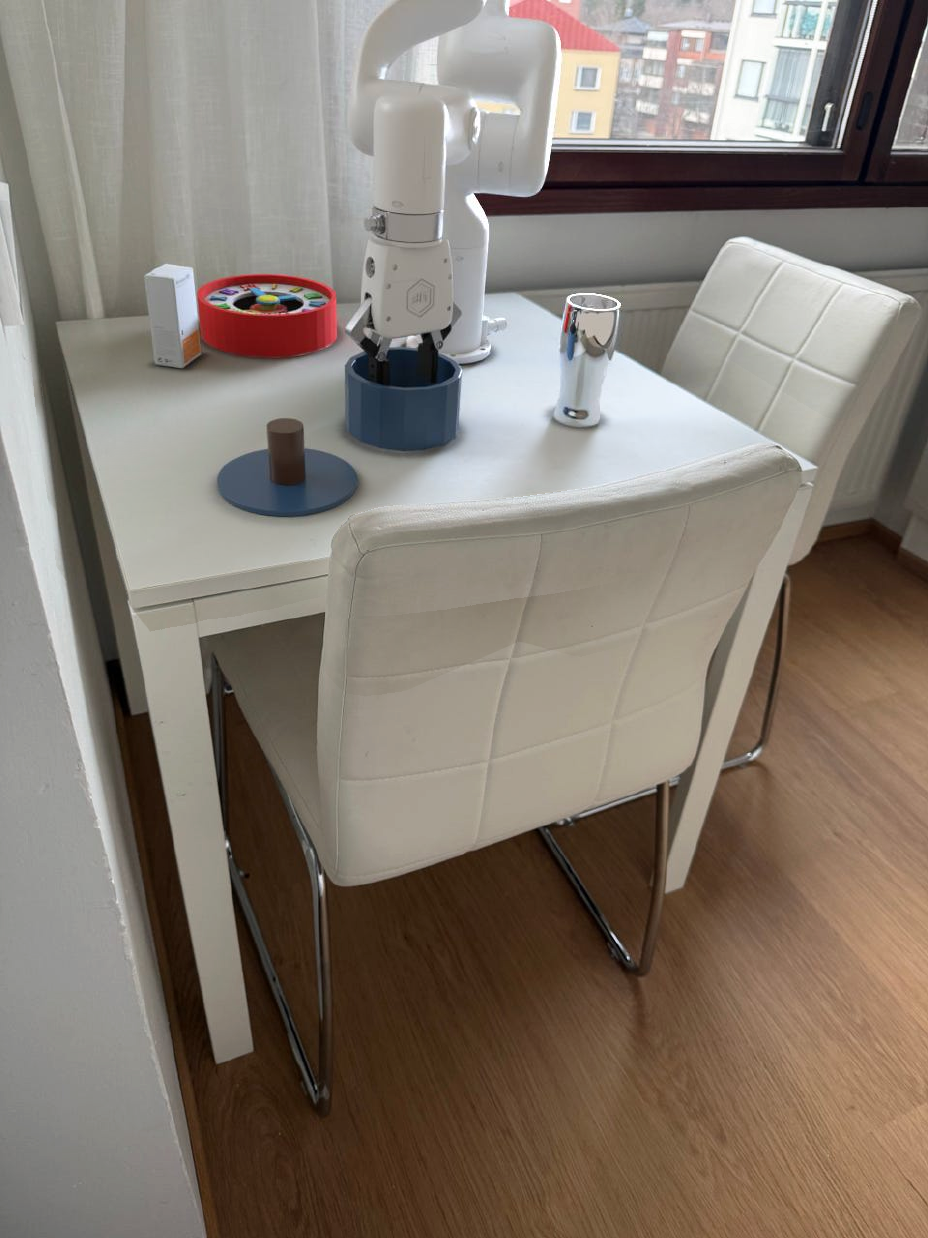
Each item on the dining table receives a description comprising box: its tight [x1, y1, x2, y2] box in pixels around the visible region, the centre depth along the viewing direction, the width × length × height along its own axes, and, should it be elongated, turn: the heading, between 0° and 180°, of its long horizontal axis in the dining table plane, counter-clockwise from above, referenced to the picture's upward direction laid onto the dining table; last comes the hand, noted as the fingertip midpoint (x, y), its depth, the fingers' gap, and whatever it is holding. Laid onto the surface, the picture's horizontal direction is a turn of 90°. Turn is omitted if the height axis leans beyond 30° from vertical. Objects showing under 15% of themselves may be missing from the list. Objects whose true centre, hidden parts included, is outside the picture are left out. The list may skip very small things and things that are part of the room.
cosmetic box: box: [143, 263, 202, 369], centre depth 123 cm, size 6×4×12 cm
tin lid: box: [216, 417, 358, 517], centre depth 97 cm, size 15×15×7 cm
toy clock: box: [196, 273, 338, 359], centre depth 135 cm, size 20×6×20 cm
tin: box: [344, 346, 463, 452], centre depth 110 cm, size 14×14×8 cm
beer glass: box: [552, 293, 621, 428], centre depth 115 cm, size 7×7×15 cm
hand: (403, 383), depth 109 cm, fingers open, 6 cm apart
